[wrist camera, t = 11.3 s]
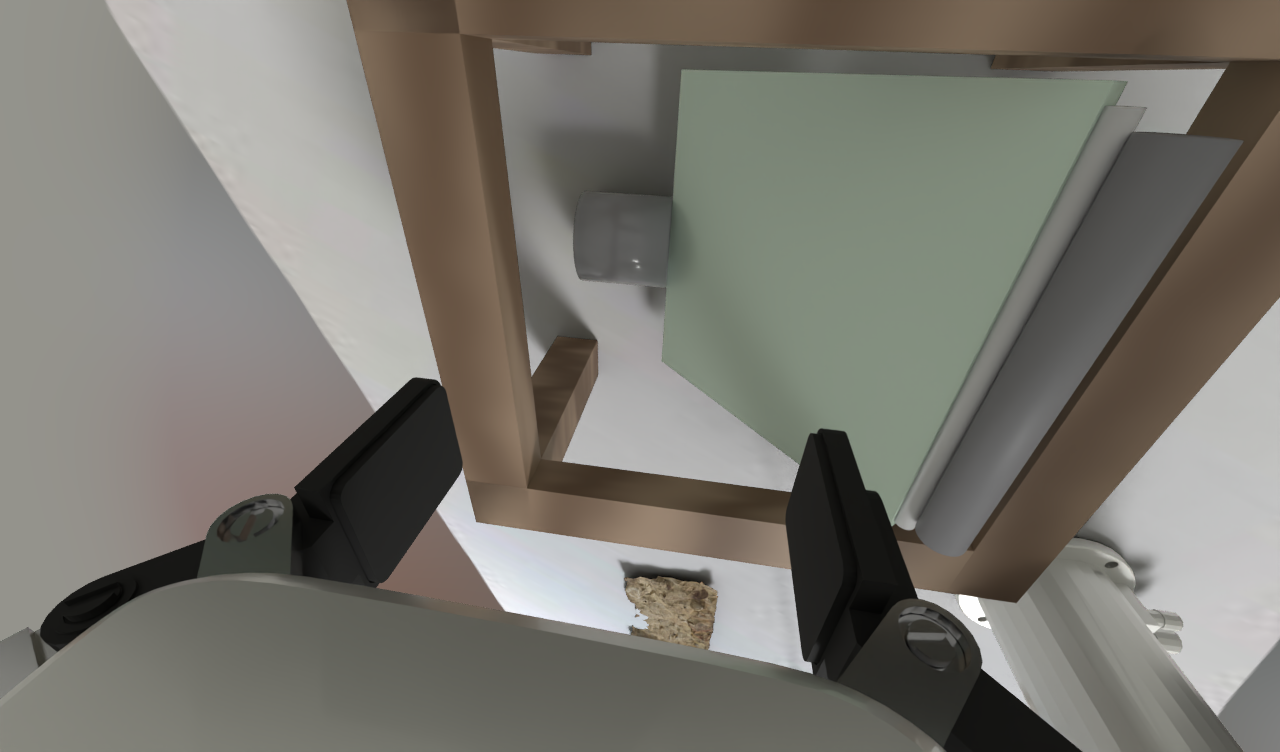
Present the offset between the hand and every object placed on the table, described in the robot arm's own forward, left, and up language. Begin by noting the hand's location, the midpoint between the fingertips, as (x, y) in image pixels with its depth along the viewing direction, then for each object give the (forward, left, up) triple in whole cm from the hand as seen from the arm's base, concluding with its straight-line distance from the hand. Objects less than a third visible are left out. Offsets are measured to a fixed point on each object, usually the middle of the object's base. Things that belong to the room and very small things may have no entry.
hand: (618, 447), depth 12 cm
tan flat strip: (-3, +52, -21) cm, 56 cm away
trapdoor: (-7, 0, -11) cm, 13 cm away
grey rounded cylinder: (0, 0, -17) cm, 17 cm away
